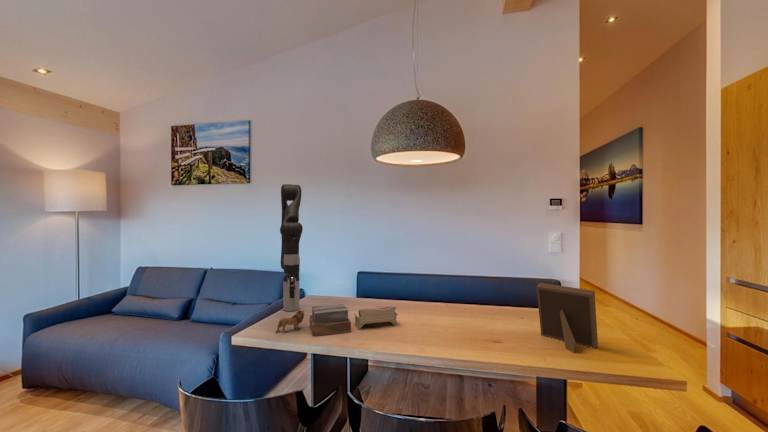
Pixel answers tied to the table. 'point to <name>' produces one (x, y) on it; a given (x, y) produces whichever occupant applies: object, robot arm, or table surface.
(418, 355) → the table surface
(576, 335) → the photo frame
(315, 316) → the wooden box
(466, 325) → the table surface
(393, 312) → the toy sofa
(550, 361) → the table surface
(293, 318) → the lion figurine
